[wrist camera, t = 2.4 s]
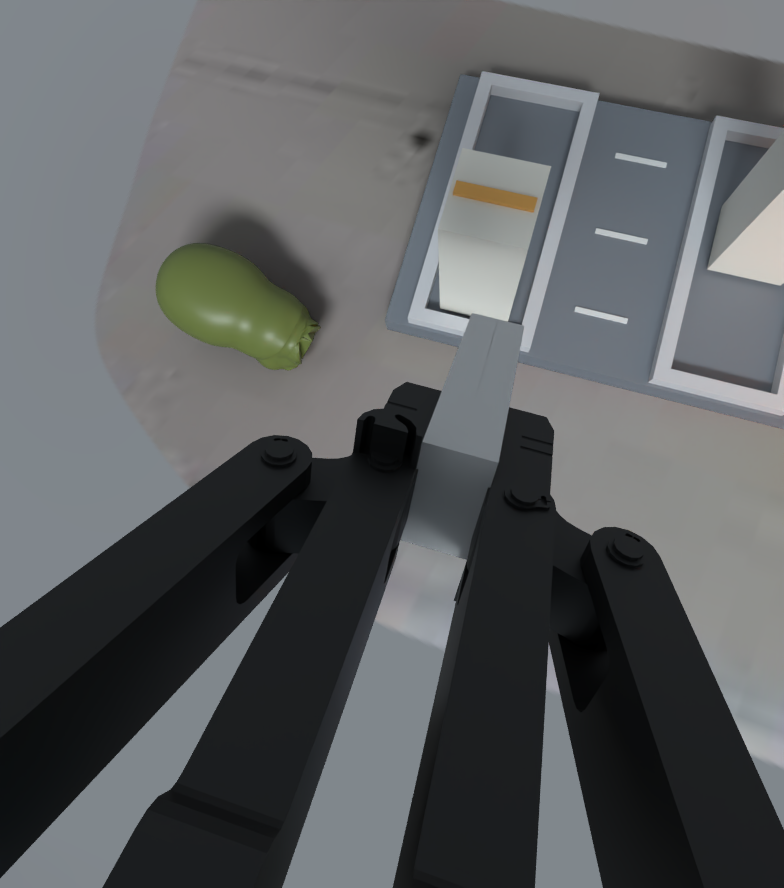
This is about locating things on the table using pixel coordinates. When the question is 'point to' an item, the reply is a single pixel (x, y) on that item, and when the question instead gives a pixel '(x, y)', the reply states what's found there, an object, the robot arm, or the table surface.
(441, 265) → the left fader knob
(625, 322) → the tray
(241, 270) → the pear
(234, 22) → the table surface
